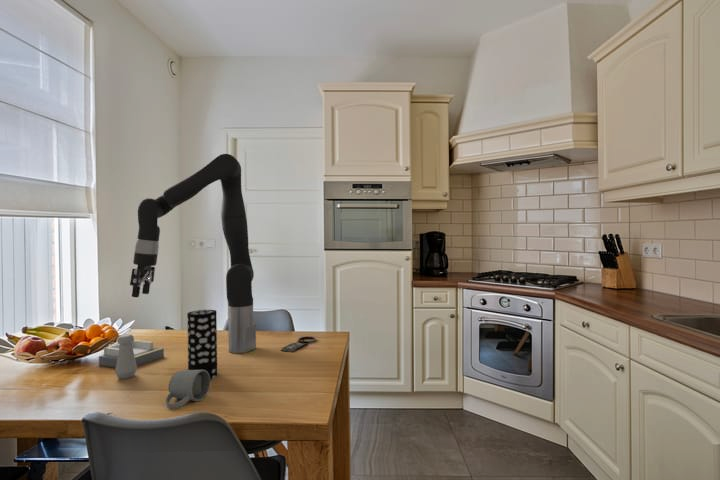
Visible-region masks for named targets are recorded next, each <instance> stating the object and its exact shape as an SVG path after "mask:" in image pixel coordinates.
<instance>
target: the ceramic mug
mask: <svg viewBox="0 0 720 480" xmlns="http://www.w3.org/2000/svg"><path fill="white" fill-rule="evenodd" d="M210 387H211V379H210V375H209V373H208V372H207V371H206V370H188V369H182V370H178V371H176V372H175V373H174V374H173V375H172V376H171V378H170V379H169V382H168V392H169V394H168V395H167V396H166V397H165V404H166V406H167V408H168V409H171V410H174V409H178V408H179V409H180V407H182V406H184V405H186V404H187V403H188V402H189V401H192V402H193V401H194V402H199V401H202V400H204V399H205V397H206V396H207V395H208V393H209V391H210ZM173 398H174V399H178V400H179V401H177V402H175V403H170V402H171V400H172V399H173Z"/></svg>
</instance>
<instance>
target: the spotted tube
mask: <svg viewBox="0 0 720 480" xmlns="http://www.w3.org/2000/svg"><path fill="white" fill-rule="evenodd" d="M186 318H187V360H188V361H187V370H206V371H207V372H208V373H209V375H210V380H212V379H215V378H216V377H218V334H217V333H218V332H217V331H218V330H217V329H218V328H217V327H218V326H217V325H218V322H217V310H215V309H200V310H193V311H189V312H187V317H186Z"/></svg>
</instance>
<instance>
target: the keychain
mask: <svg viewBox="0 0 720 480" xmlns="http://www.w3.org/2000/svg"><path fill="white" fill-rule="evenodd" d="M316 341H317V337H314V336H310V335H309V336H301V337H298V338H297V341H296V342H293V343H292V342H291V343H289V344H287V345H284V347H282V348H281V349H280V351H281V352H289V353H295V352H296V350H297V349H299V348H301V347H303V346H306V347H307V346H309V345H310V344H313V343H314V344H315V343H316Z"/></svg>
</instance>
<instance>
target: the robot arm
mask: <svg viewBox="0 0 720 480" xmlns="http://www.w3.org/2000/svg"><path fill="white" fill-rule="evenodd" d="M217 181H220V185H221V193H222V200H221V207H220V208H221V209H220V217H221V219H220V220H221V226H222V232H223V236H224V239H225V242H226V244H227V248H228V251H229V259H230V267H229V269H227V272H226V276H225V284H226V285H225V287H226V300H227V305H228V306H227V307H228V308H227V310H228V313H227V316H228V320H227V323H228V326H227V327H228V352H229V353H233V354H241V353H243V354H247V353H249V352H251V351H253V350H255V349H257V332H256V331H257V328H256V326H257V325H256V323H254V297H253V289H252V288H253V287H252V282H253V280H254V277H255V276H254V274H255V272H254V268H253V264H252V260H251V255H250V250H249V249H250V248H249V232H248V219H247V212H246V207H245V201H244V197H243V191H242V166H241V164H240V162H239V161H238V159H237V158H235V156H233V155H232V154H230V153H229V154H228V153H222V154H219V155H217V156H216V157H215V158H214V159H212V160H211V161H210V162H209V163H207V164H206V165H205V166H204V167H202V168H201V169H199V170H198V171H196V172H195V173H193V174H192V175H190V176H189V177H187V178H184V179H183V180H181V181H180V182H178V183H176V184H174V185H172V186H170V187H169V188H167V189H165V190H164V191H163V192H162V194H161V195H160V196H158V197H157V198H155V199H154V198H149V197H148V198H145V199H142V200H140V203H139V204H138V208H137V222H138V231H137V236H136V237H137V239H136V243H135V247H134V253H133V255H134V256H133V264H134V265H137V268H132V269H131V275H130V276H131V277H130V282H129V285H130V286H131V287H132V293H131V297H132V298H139V297H140V293H141V292H142V294H144V295H149V294H150V289H151V288H150V287H151V284H152V283H153V282H154V278H155V271H156V270H155V269H156V268H155V266H157V262H158V255H159V248H160V247H159V242H160V236H161V235H160V233H161V229H160V226H159V225H158V219H160V218H162V217H164V216H165V215H167V214H168V213H170V212H171V211H172V210H174V209H175V208H176V207H178V206H180V205H182V204H184V203H185V202H187V201H189V200H191V199H192V198H193V197H195V196H196V195H198V194H199V193H200V192H201V191H202V190H203V189H205V188H206V187H207V186H209V185H211V184H212V183H215V182H217ZM141 286H142V291H141ZM140 291H141V292H140Z"/></svg>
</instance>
